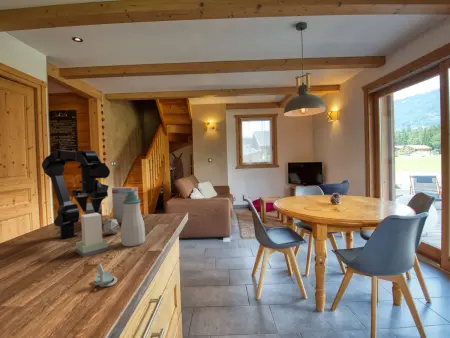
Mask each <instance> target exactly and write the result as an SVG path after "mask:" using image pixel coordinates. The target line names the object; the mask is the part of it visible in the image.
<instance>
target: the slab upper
mask: <svg viewBox="0 0 450 338" xmlns="http://www.w3.org/2000/svg"><path fill="white" fill-rule="evenodd" d="M108 243H109V242H108V241H107V240H105V239H103V238H102V242H100V243H96V244H91V245H85V244H84V243H83V242H82V240H80V241H76V242H75V249H76V248H77V249H78V250H80V251H81V252H82V253H86V252H90V251H94V250H98V249H102V248H106V247H108V248H109V244H108Z"/></svg>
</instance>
